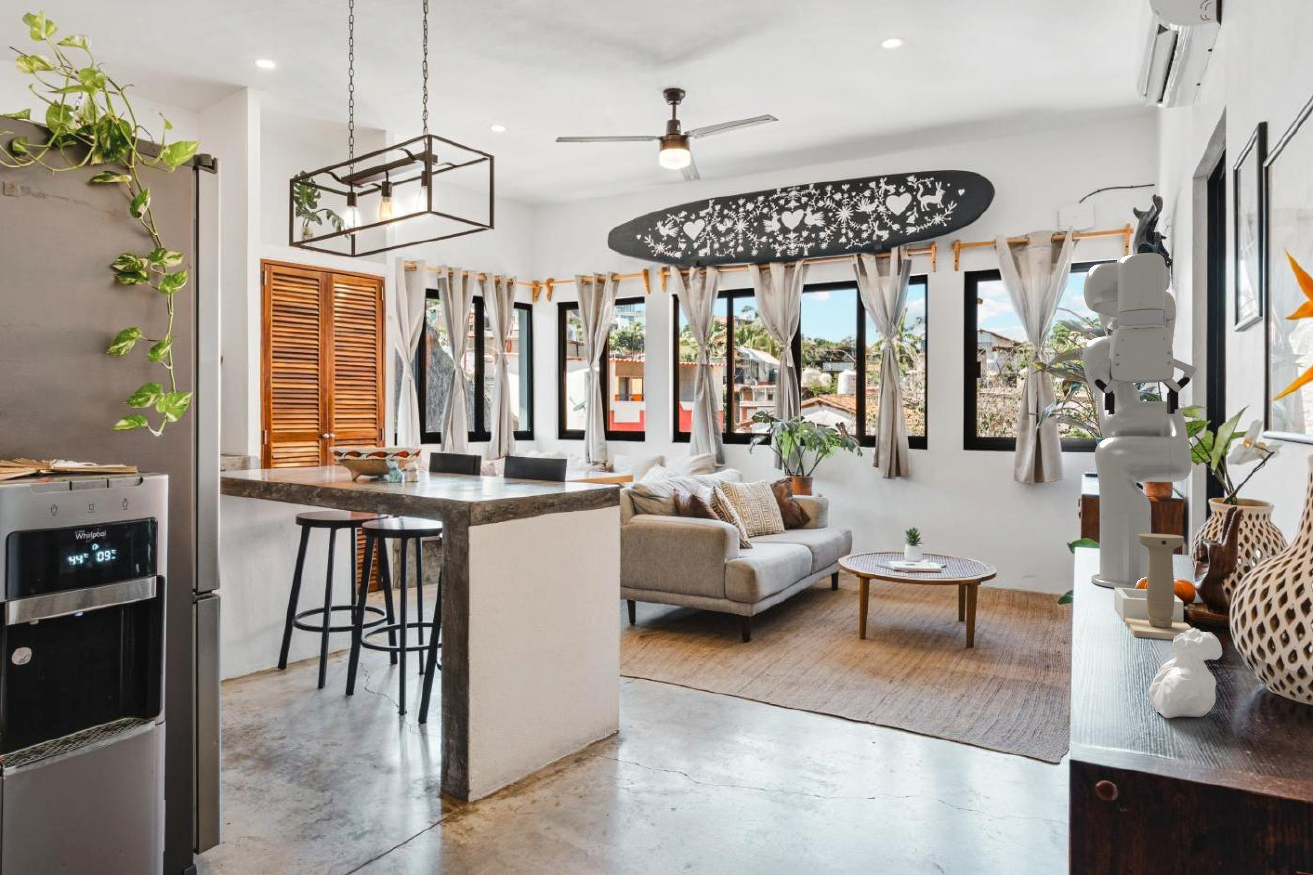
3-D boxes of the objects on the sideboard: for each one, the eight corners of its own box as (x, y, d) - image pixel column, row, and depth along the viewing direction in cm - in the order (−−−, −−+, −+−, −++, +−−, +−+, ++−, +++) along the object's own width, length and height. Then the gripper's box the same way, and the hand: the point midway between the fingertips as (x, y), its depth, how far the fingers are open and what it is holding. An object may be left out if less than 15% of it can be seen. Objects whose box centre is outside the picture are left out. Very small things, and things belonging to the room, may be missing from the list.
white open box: (1114, 608, 151) (1114, 587, 151) (1170, 612, 148) (1170, 590, 148) (1123, 621, 142) (1123, 598, 142) (1183, 625, 139) (1183, 602, 139)
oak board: (1125, 623, 140) (1125, 618, 140) (1186, 628, 137) (1186, 622, 137) (1134, 636, 132) (1134, 630, 132) (1199, 641, 128) (1199, 635, 128)
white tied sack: (1184, 747, 93) (1259, 680, 89) (1123, 697, 96) (1194, 630, 92) (1185, 715, 103) (1253, 653, 99) (1130, 671, 106) (1194, 609, 102)
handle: (1186, 631, 131) (1187, 538, 131) (1141, 627, 133) (1141, 536, 133) (1179, 624, 136) (1179, 534, 135) (1135, 621, 138) (1135, 533, 138)
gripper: (1190, 321, 151) (1190, 413, 151) (1086, 326, 157) (1085, 414, 158) (1200, 316, 144) (1200, 413, 144) (1091, 322, 150) (1090, 414, 151)
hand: (1140, 414), depth 151 cm, fingers open, 9 cm apart
